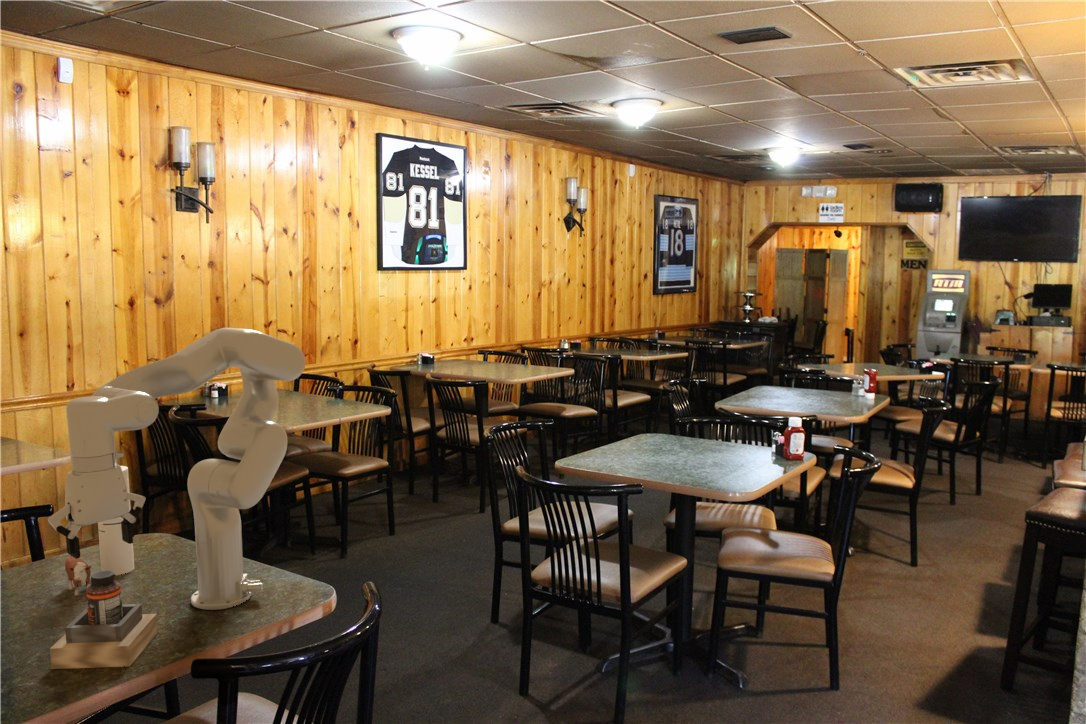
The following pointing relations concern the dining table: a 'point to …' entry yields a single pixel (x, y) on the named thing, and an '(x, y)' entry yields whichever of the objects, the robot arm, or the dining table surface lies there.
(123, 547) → the cylindrical container
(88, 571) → the bull figurine
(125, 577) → the dining table surface
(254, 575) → the dining table surface
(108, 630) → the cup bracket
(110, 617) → the supplement bottle
